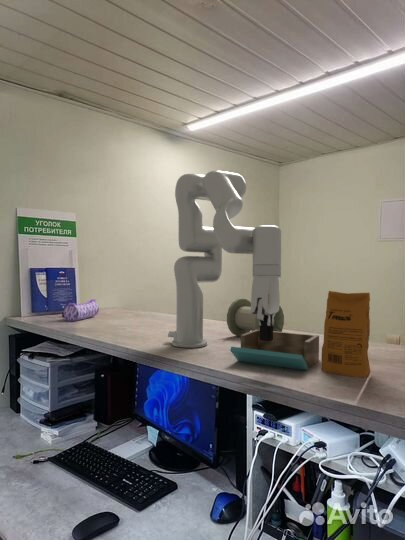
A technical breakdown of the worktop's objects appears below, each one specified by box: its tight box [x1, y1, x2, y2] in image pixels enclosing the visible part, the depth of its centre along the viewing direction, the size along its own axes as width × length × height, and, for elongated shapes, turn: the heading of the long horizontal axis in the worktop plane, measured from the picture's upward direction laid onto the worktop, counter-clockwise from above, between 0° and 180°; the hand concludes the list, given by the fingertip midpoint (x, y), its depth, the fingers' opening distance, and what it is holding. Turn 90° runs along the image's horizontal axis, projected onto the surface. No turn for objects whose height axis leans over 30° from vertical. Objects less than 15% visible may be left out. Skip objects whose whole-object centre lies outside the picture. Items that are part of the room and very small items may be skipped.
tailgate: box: [230, 346, 309, 371], centre depth 110 cm, size 20×1×8 cm
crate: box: [240, 330, 320, 370], centre depth 119 cm, size 20×12×8 cm, turn 61°
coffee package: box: [321, 290, 371, 378], centre depth 107 cm, size 10×12×22 cm
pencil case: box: [62, 299, 100, 322], centre depth 208 cm, size 22×9×10 cm, turn 166°
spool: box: [226, 298, 285, 337], centre depth 158 cm, size 16×15×15 cm
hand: (266, 340), depth 108 cm, fingers closed
